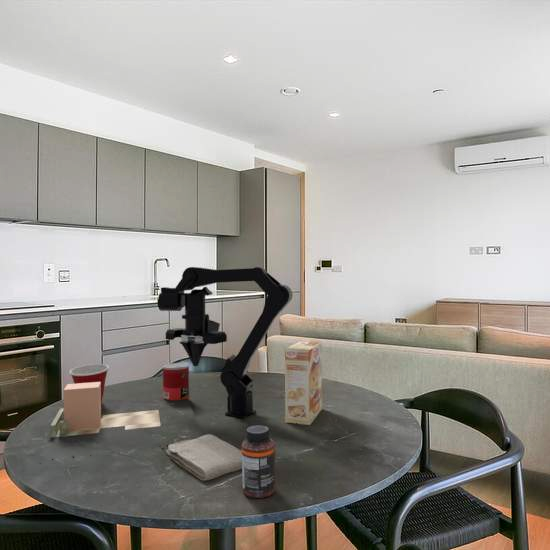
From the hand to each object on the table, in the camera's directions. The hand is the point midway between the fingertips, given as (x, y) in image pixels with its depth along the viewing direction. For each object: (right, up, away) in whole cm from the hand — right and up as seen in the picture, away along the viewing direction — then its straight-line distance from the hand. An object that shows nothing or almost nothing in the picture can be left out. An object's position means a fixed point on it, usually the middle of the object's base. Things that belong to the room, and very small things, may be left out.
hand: (195, 365), depth 128 cm
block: (-26, -12, -14) cm, 32 cm away
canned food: (-8, -13, +11) cm, 19 cm away
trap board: (-20, -13, -12) cm, 27 cm away
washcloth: (+8, -14, -33) cm, 37 cm away
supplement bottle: (+20, -13, -47) cm, 53 cm away
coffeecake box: (+31, -13, -4) cm, 34 cm away
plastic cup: (-32, -14, +4) cm, 35 cm away
